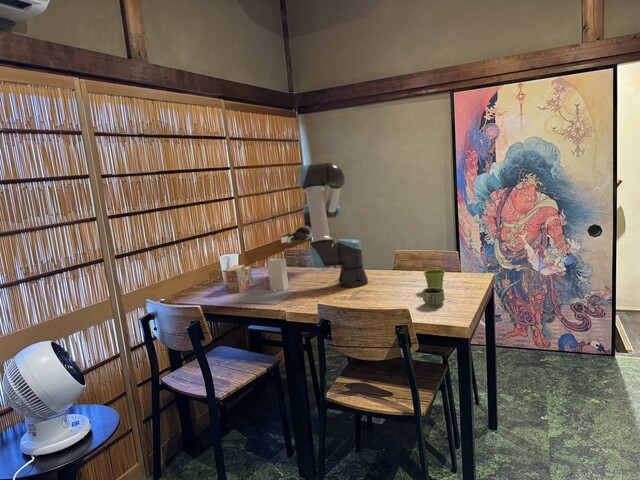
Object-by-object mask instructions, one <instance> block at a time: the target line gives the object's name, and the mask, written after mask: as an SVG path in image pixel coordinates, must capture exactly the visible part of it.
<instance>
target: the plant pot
mask: <svg viewBox="0 0 640 480" xmlns="http://www.w3.org/2000/svg"><path fill="white" fill-rule="evenodd" d="M445 273H446V271H445V270H444V269H443V270H442V269H428V270H424V272H423V275H424V277H425V280H426V285H427V288H430V287H437V288H442V289H443V286H444V284H443V283H444V276H445Z"/></svg>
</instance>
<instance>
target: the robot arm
mask: <svg viewBox="0 0 640 480" xmlns="http://www.w3.org/2000/svg"><path fill="white" fill-rule="evenodd" d="M298 176H299V182H298V183H299V188H300V189H302V192H303V193H305V194H306V199H307V204H304V205H303V206H302V212H303V223H304V225H303V226H302V227H299V228H298V229H296V231H294V232H293V233H287V234H285V235H282V237H281V238H280V244H283V243H287V244H290V243H292V242H294V241H295V242H296V241H306V240H308V239H310V238H312V240H311V241H310V245H309V246H308V252H309V259H310V261H311V264H312V265H313V266H312V267H314V268H315V269H321V268H322V269H325V268H329V267H336V266H340V272H339V277H338V286H340V287H342V288H357V287H362V286H366V285H367V284H369V278H368V276H367V274H366V270H365V268H364V262H363V248H362V242H361V241H360V240H359V239H354V238H339V239H338V240H337V242H334V239H333V238H332V237H331V236H330V230H329V223H328V219H334V218H338V217H341V208H340V205H339V200H340V196H341V191H342V188H343V186H345V182H346V178H345V174H344V172H343V170H342V168H341V167H340V166H338V165H337V164H336V163H333V162H324V163H323V162H321V163H314V164H313V163H309V164H304V165H302V166H300V167H299V175H298ZM326 186H327V189H326ZM325 190H326V195H325V196H324V191H325Z"/></svg>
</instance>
